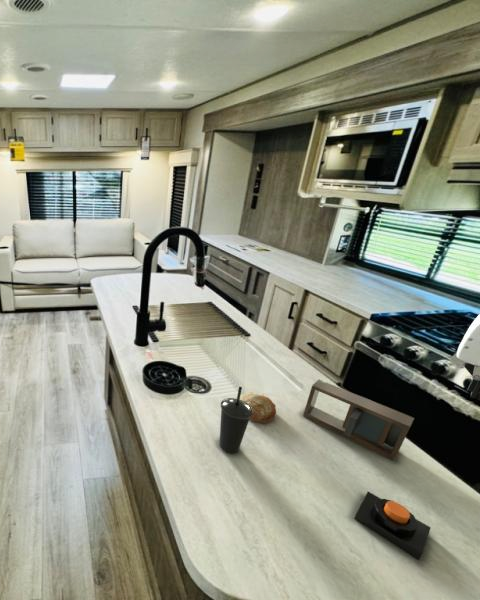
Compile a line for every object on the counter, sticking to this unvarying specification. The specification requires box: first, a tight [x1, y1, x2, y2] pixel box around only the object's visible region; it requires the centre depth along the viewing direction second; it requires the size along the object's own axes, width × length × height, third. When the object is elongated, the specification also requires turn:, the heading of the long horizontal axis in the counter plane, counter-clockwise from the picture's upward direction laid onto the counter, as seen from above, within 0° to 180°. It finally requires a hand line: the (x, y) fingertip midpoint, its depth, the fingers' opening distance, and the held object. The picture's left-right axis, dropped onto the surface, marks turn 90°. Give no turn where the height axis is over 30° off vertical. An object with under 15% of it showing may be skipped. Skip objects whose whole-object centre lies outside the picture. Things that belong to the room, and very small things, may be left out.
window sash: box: [342, 404, 393, 446], centre depth 84 cm, size 9×7×8 cm
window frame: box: [302, 378, 415, 462], centre depth 88 cm, size 21×5×12 cm, turn 36°
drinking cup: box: [219, 386, 253, 455], centre depth 83 cm, size 8×8×20 cm
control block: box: [353, 491, 432, 561], centre depth 65 cm, size 10×8×4 cm
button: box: [384, 500, 411, 524], centre depth 65 cm, size 4×4×2 cm
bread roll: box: [240, 392, 277, 424], centre depth 98 cm, size 10×10×8 cm
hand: (476, 396), depth 64 cm, fingers closed
